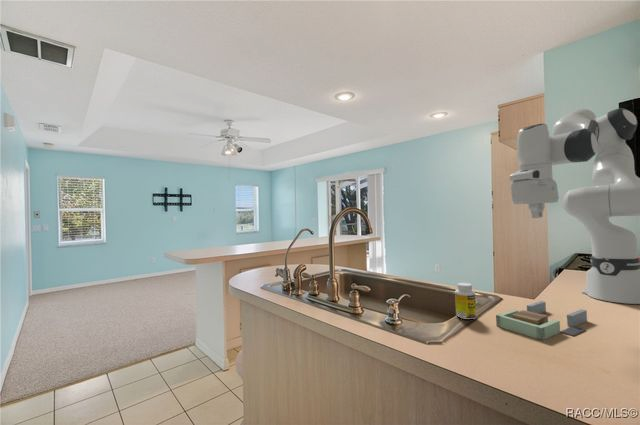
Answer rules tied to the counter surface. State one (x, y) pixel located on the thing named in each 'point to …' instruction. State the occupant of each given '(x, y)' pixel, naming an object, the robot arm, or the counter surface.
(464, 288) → the supplement bottle
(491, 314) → the counter surface
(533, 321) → the walnut block
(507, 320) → the trap channel
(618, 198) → the robot arm
